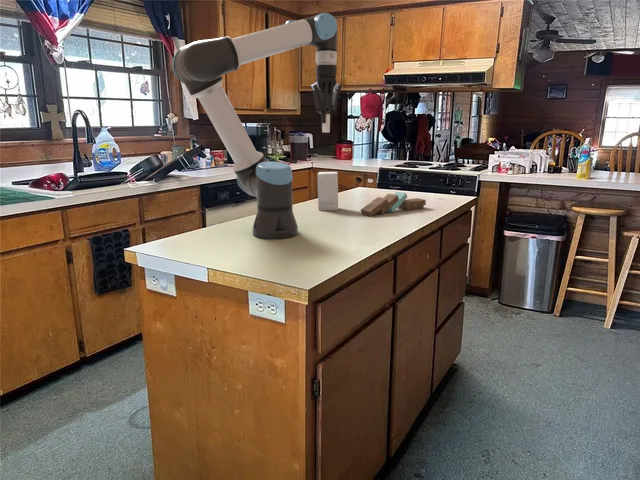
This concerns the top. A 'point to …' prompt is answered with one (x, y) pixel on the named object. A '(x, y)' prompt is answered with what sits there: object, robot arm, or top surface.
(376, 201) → the domino
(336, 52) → the robot arm
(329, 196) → the skincare box
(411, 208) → the domino
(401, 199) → the teal tile
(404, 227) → the top surface
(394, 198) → the domino
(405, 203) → the domino
